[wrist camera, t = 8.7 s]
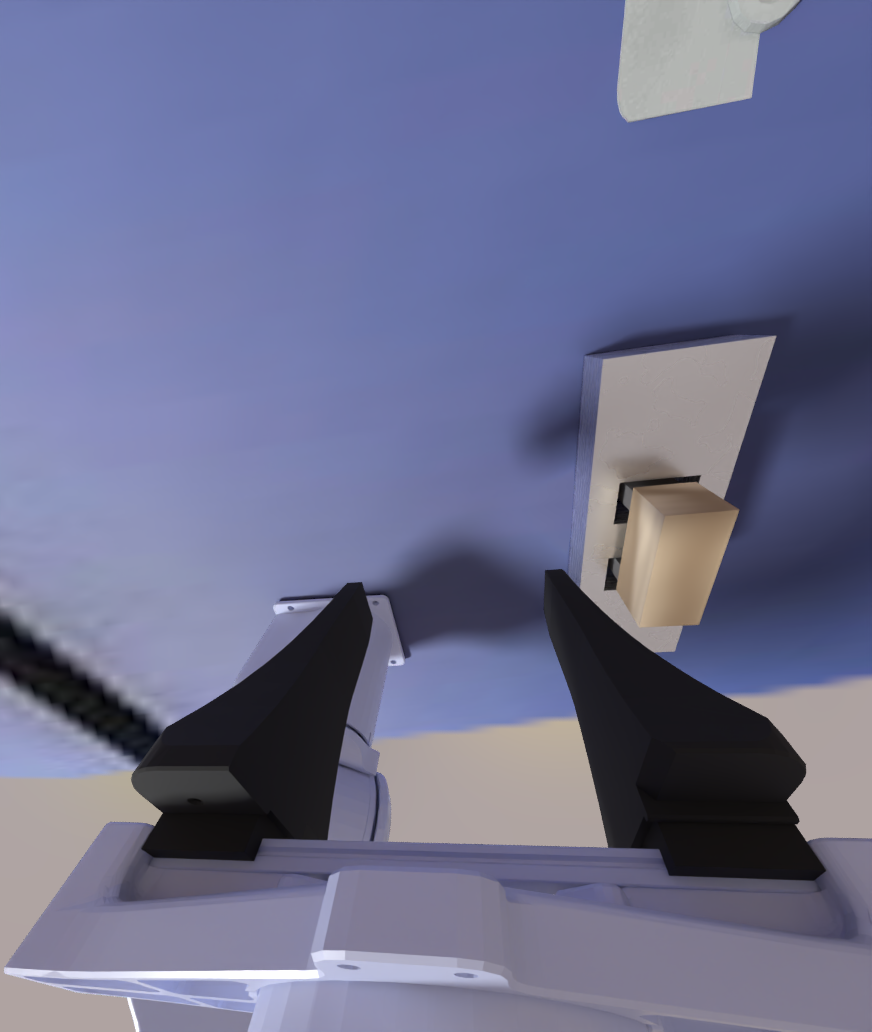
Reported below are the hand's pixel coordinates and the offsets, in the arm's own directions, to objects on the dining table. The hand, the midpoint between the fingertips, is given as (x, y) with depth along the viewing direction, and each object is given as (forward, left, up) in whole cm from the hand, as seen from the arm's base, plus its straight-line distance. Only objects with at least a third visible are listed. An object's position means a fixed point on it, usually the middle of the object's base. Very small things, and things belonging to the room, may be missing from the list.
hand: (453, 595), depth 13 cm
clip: (+11, -3, -9) cm, 15 cm away
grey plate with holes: (+11, -3, -9) cm, 15 cm away
